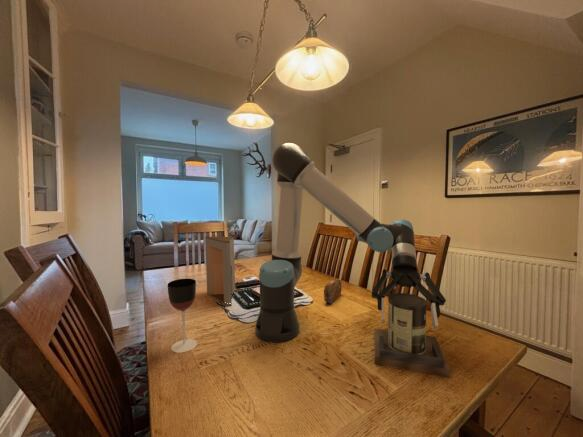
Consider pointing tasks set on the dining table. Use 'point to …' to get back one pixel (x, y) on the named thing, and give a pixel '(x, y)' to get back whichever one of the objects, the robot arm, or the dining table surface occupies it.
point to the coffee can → (407, 323)
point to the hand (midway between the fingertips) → (408, 324)
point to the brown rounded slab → (332, 291)
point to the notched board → (411, 356)
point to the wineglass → (182, 308)
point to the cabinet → (220, 268)
